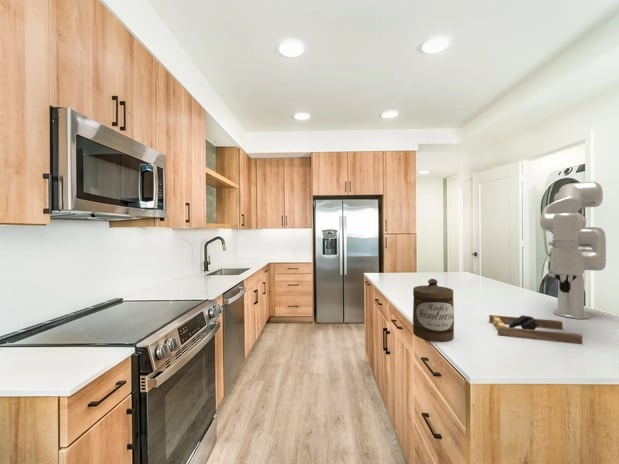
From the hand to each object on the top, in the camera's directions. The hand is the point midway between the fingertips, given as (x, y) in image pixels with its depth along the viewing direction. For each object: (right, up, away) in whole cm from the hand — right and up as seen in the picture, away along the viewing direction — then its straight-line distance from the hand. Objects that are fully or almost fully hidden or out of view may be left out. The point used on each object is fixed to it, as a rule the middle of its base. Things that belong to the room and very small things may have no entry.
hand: (564, 291), depth 119 cm
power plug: (-15, -17, +4) cm, 23 cm away
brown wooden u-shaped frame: (-10, -17, +4) cm, 20 cm away
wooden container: (-51, -17, +1) cm, 54 cm away
